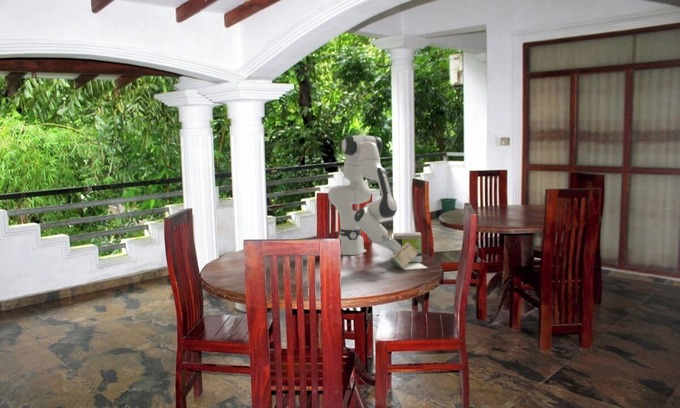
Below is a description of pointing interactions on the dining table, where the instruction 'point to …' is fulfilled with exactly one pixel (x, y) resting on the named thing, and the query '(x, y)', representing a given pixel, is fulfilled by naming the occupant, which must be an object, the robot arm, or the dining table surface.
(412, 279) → the dining table surface
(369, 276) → the dining table surface
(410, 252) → the beech block
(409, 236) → the tea box
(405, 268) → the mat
